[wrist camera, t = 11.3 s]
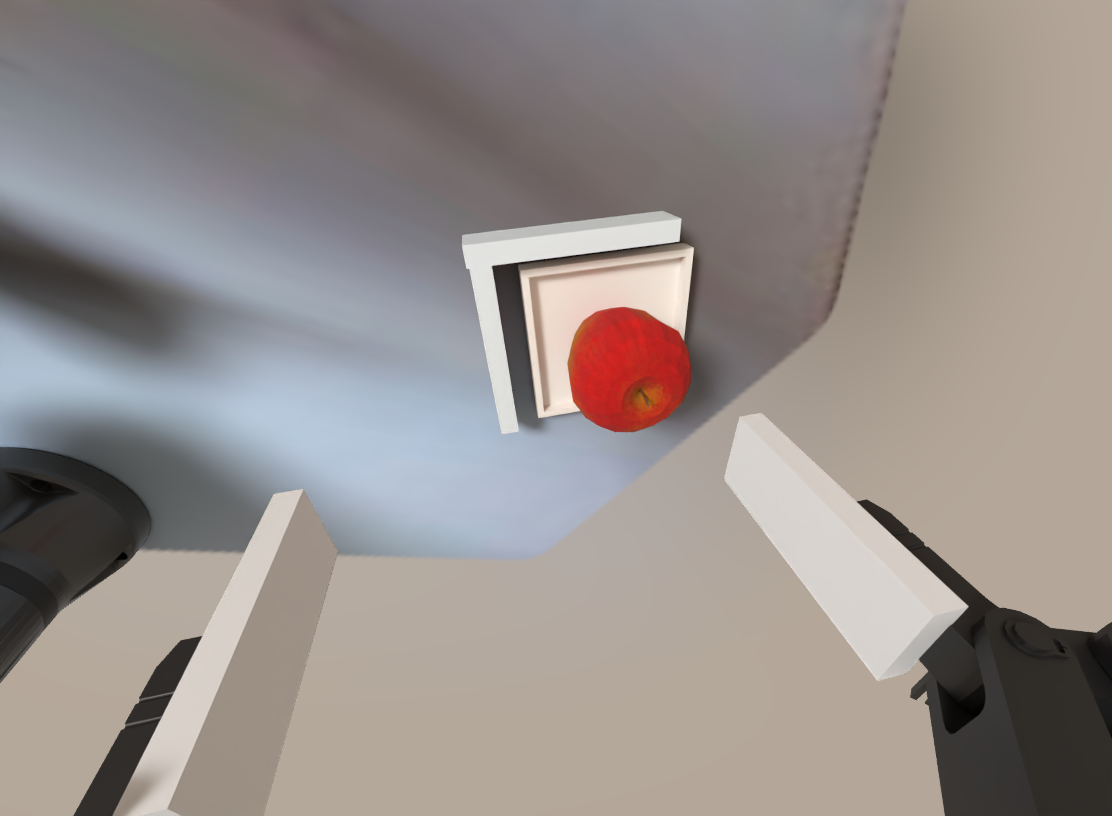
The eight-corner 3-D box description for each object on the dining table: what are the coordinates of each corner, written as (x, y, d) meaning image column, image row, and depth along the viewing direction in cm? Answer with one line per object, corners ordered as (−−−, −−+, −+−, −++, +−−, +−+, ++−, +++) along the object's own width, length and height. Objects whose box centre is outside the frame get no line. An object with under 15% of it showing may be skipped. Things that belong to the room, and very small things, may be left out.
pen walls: (497, 413, 41) (499, 434, 38) (462, 234, 32) (462, 245, 29) (651, 387, 43) (664, 406, 40) (662, 210, 33) (681, 218, 30)
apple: (564, 390, 40) (594, 474, 30) (544, 302, 35) (571, 369, 25) (657, 365, 40) (716, 441, 30) (649, 274, 35) (718, 329, 25)
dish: (536, 407, 42) (538, 418, 40) (517, 264, 34) (520, 270, 32) (670, 385, 43) (677, 394, 42) (684, 242, 35) (693, 248, 34)
